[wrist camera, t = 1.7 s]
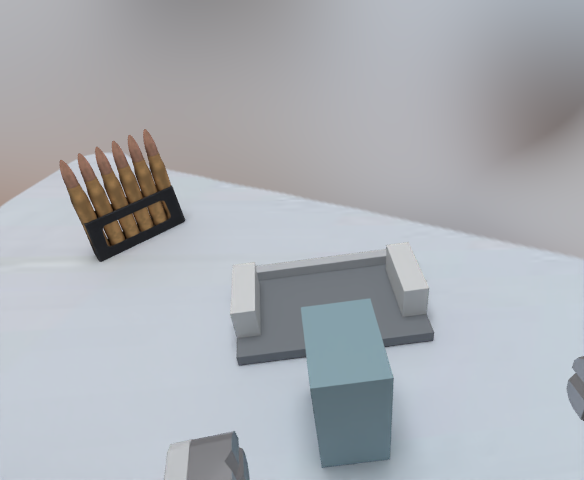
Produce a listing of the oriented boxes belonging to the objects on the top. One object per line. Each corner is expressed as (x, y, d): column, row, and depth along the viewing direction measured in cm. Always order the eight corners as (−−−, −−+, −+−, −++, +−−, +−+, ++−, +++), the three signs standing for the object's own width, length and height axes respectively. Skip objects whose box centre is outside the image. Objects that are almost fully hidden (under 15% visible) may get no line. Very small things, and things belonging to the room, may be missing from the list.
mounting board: (238, 365, 37) (229, 333, 34) (241, 281, 45) (233, 251, 42) (433, 340, 37) (437, 306, 34) (400, 261, 44) (402, 229, 42)
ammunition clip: (179, 215, 56) (149, 124, 48) (185, 221, 54) (156, 128, 47) (95, 254, 51) (48, 160, 44) (100, 262, 50) (53, 166, 42)
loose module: (322, 467, 30) (310, 388, 24) (312, 388, 34) (300, 307, 29) (389, 459, 30) (393, 378, 24) (370, 381, 34) (370, 298, 29)
